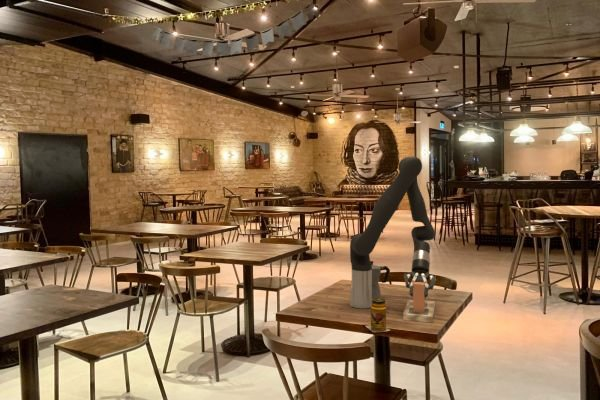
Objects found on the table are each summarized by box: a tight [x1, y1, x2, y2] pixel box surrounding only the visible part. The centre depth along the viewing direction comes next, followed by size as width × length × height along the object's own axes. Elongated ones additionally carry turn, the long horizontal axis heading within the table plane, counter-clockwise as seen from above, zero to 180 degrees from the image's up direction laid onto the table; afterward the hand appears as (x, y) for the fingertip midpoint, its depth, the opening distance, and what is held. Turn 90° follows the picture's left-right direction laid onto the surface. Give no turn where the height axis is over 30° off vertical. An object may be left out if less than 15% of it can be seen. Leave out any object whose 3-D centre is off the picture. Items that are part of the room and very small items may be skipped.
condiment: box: [365, 298, 391, 333], centre depth 205 cm, size 7×8×12 cm
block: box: [412, 282, 426, 313], centre depth 220 cm, size 4×4×12 cm
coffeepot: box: [370, 260, 391, 300], centre depth 252 cm, size 15×9×18 cm, turn 82°
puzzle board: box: [402, 299, 436, 323], centre depth 226 cm, size 12×24×3 cm, turn 163°
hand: (418, 296), depth 218 cm, fingers open, 5 cm apart
